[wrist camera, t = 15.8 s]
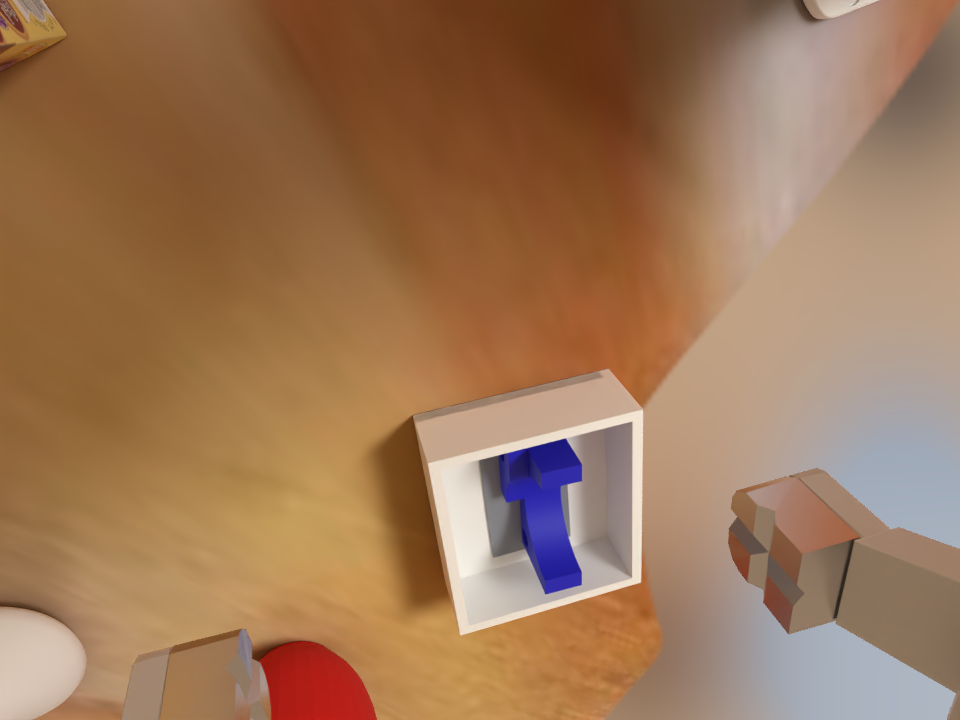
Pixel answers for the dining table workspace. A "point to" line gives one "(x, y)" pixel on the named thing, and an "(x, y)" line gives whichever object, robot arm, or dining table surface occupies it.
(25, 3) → the candy box
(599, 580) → the walled box
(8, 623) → the flower in vase
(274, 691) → the ceramic cup
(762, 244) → the dining table surface
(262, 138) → the dining table surface
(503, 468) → the blue curved block
